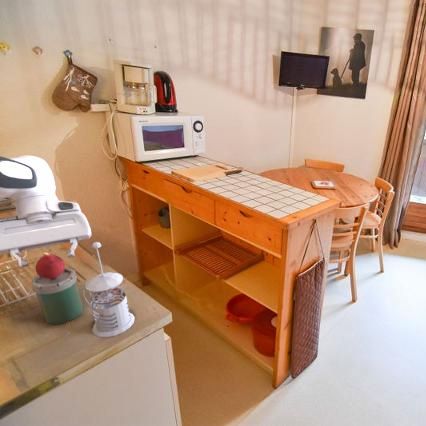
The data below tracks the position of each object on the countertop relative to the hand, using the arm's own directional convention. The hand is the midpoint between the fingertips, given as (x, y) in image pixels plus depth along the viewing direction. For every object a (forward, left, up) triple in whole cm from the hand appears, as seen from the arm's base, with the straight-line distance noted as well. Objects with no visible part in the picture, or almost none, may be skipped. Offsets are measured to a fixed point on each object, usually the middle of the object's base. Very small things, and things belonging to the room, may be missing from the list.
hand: (48, 261), depth 81 cm
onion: (0, 0, -6) cm, 6 cm away
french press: (+12, -8, -17) cm, 22 cm away
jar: (0, 0, -17) cm, 17 cm away
